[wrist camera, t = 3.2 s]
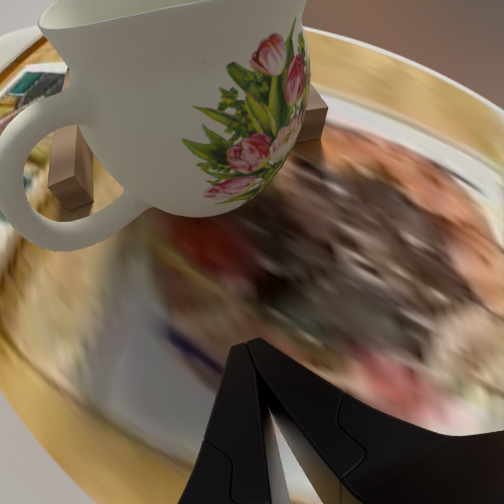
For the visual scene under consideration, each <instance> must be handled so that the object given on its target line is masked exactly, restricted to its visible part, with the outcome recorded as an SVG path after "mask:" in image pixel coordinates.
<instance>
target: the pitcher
mask: <svg viewBox="0 0 504 504" xmlns="http://www.w3.org/2000/svg"><path fill="white" fill-rule="evenodd" d="M306 1H307V0H55V1H53V2H52V3H51V4H50V5H49V6H48V7H47V8H46V9H45V10H44V11H43V13H42V14H41V16H40V17H39V20H38V27H39V28H40V30H41V32H42V33H43V35H44V36H45V37H46V39H47V40H48V41H49V42H50V43H51V45H52V46H53V47H54V48H55V49H56V51H57V52H58V53H59V55H60V56H61V58H62V59H63V60H64V62H65V63H66V65H67V66H68V68H69V70H70V85H69V86H68V87H67V89H65V90H64V91H62V92H61V93H58V94H55V95H53V96H50V97H47V98H44V99H42V100H40V101H38V102H36V103H34V104H32V105H31V106H29V107H28V108H26V109H25V110H23V111H22V112H20V113H19V114H18V115H17V116H16V117H15V118H14V119H13V120H12V121H11V122H10V123H9V124H8V125H7V127H6V128H5V130H4V131H3V133H2V135H1V136H0V209H1V212H2V213H3V215H4V216H5V217H6V219H7V220H8V221H9V223H10V224H11V225H12V227H13V228H14V229H15V230H16V231H17V232H18V233H19V234H20V235H22V236H23V237H24V238H25V239H26V240H28V241H29V242H31V243H33V244H35V245H37V246H38V247H40V248H43V249H47V250H51V251H73V250H78V249H83V248H86V247H89V246H92V245H94V244H97V243H99V242H101V241H103V240H105V239H107V238H109V237H111V236H112V235H114V234H115V233H117V232H118V231H120V230H121V229H122V228H124V227H125V226H126V225H128V224H129V223H130V222H132V221H133V220H134V219H135V218H137V217H138V216H139V215H140V214H141V213H142V212H144V211H145V210H147V209H149V208H151V207H156V208H158V209H160V210H163V211H165V212H168V213H171V214H174V215H180V216H185V217H209V216H215V215H219V214H223V213H226V212H229V211H231V210H234V209H236V208H238V207H240V206H242V205H243V204H245V203H247V202H248V201H250V200H251V199H252V198H254V197H255V196H257V195H258V194H259V193H260V192H261V191H262V190H263V189H264V188H265V187H266V186H267V185H268V184H269V183H270V182H271V180H272V179H273V178H274V177H275V175H276V174H277V173H278V171H279V170H280V169H281V167H282V166H283V164H284V162H285V161H286V159H287V157H288V155H289V154H290V152H291V150H292V148H293V147H294V144H295V142H296V139H297V137H298V134H299V132H300V129H301V126H302V123H303V120H304V116H305V113H306V108H307V102H308V97H309V89H310V76H311V72H310V58H309V51H308V45H307V40H306V36H305V32H304V29H303V25H302V22H301V17H302V13H303V10H304V7H305V4H306ZM68 125H79V128H80V130H81V132H82V134H83V137H84V139H85V140H86V142H87V144H88V146H89V147H90V149H91V150H92V152H93V153H94V155H95V156H96V158H97V159H98V161H99V162H100V163H101V165H102V166H103V167H104V168H105V170H106V171H107V172H108V173H109V174H110V175H111V176H112V177H113V178H114V179H115V180H116V181H117V182H118V183H119V184H121V185H122V186H123V187H124V192H123V194H122V195H121V196H120V197H119V198H117V199H116V200H115V201H114V202H113V203H111V204H110V205H108V206H107V207H106V208H104V209H102V210H100V211H99V212H97V213H95V214H92V215H90V216H87V217H85V218H82V219H78V220H75V221H70V222H56V221H53V220H50V219H47V218H46V217H44V216H42V215H41V214H39V213H38V212H37V211H36V210H35V209H34V208H33V207H32V206H31V205H30V203H29V201H28V199H27V196H26V193H25V190H24V183H23V172H24V166H25V163H26V160H27V157H28V156H29V154H30V152H31V151H32V149H33V148H34V147H35V146H36V145H37V143H38V142H39V141H40V140H42V139H43V138H44V137H45V136H47V135H48V134H50V133H52V132H53V131H55V130H58V129H60V128H62V127H65V126H68Z"/></svg>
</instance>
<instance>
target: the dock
mask: <svg viewBox="0 0 504 504" xmlns="http://www.w3.org/2000/svg"><path fill="white" fill-rule="evenodd" d="M69 85H70V70H69V68H68V69H67V72H66V76H65V80H64V84H63V89H62V91H64V90H65V89H67V87H68V86H69ZM327 111H328V106H327V105H326V103H325V102H324V101H323V99H322V98H321V96H320V95H319V94H318V92H317V91H316V90H315V89H314V87H313V86H312V85H311V83H310V89H309V97H308V102H307V108H306V113H305V116H304V120H303V123H302V126H301V129H300V132H299V134H298V137H297V139H296V142H295V143H299V142H304V141H309V140H315V139H320V138H321V135H322V131H323V127H324V123H325V119H326V115H327ZM47 187H48V188H49V189H50V191H51V192H52V193H53V194H54V195H55V196H56V197H57V199H58V200H59V201H60V202H61V203H62V204H63V205H64V206H65V207H66V209H67V210H68V211H70V210H73V209H75V208H78V207H80V206H83V205H86V204H88V203H91V202H94V199H93V152H92V150H91V149H90V147H89V146H88V144H87V142H86V140H85V139H84V137H83V134H82V132H81V130H80V128H79V125H68V126H65V127H62V128H60V129H58V130H55V131H54V135H53V141H52V148H51V156H50V165H49V174H48V186H47Z"/></svg>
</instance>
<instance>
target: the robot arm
mask: <svg viewBox="0 0 504 504" xmlns="http://www.w3.org/2000/svg"><path fill="white" fill-rule="evenodd" d="M268 407H269V408H268ZM269 410H270V411H269ZM270 412H271V414H272V416H273V418H274V420H275V422H276V424H277V426H278V427H279V429H280V431H281V433H282V435H283V436H284V438H285V440H286V442H287V443H288V445H289V447H290V449H291V450H292V452H293V454H294V456H295V457H296V459H297V461H298V462H299V464H300V466H301V468H302V469H303V471H304V473H305V474H306V476H307V478H308V479H309V481H310V483H311V484H312V486H313V488H314V489H315V491H316V493H317V494H318V496H319V497H320V499H321V501H322V502H323V504H504V430H503V431H497V432H490V433H484V434H476V435H468V436H450V435H444V434H439V433H436V432H433V431H430V430H427V429H424V428H422V427H419V426H416V425H414V424H411V423H408V422H406V421H403V420H401V419H398V418H396V417H393V416H391V415H388V414H386V413H384V412H381V411H379V410H377V409H375V408H373V407H371V406H369V405H367V404H365V403H363V402H361V401H360V400H358V399H356V398H354V397H353V396H351V395H349V394H348V393H346V392H345V393H344V391H343V390H341V389H339V388H338V387H336V386H334V385H333V384H331V383H330V382H328V381H326V380H325V379H323V378H322V377H320V376H318V375H317V374H315V373H314V372H312V371H311V370H309V369H307V368H306V367H304V366H303V365H301V364H300V363H298V362H297V361H295V360H293V359H292V358H290V357H289V356H287V355H286V354H284V353H283V352H281V351H280V350H278V349H277V348H275V347H274V346H272V345H271V344H269V343H268V342H266V341H265V340H263V339H262V338H256V339H253V340H250V341H247V343H240V344H237V345H234V346H232V347H231V348H230V351H229V355H228V358H227V361H226V365H225V368H224V372H223V375H222V378H221V382H220V385H219V388H218V392H217V395H216V398H215V402H214V405H213V409H212V412H211V415H210V419H209V422H208V425H207V429H206V432H205V435H204V440H203V441H202V445H201V448H200V451H199V454H198V457H197V460H196V463H195V466H194V469H193V471H192V474H191V476H190V478H189V480H188V483H187V485H186V487H185V489H184V491H183V494H182V496H181V498H180V500H179V502H178V504H291V503H290V498H289V494H288V490H287V485H286V481H285V476H284V472H283V468H282V463H281V459H280V454H279V450H278V445H277V441H276V436H275V432H274V427H273V423H272V418H271V414H270Z"/></svg>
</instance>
